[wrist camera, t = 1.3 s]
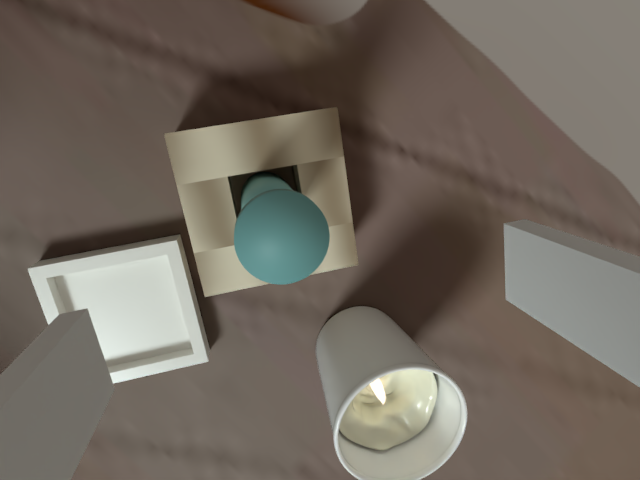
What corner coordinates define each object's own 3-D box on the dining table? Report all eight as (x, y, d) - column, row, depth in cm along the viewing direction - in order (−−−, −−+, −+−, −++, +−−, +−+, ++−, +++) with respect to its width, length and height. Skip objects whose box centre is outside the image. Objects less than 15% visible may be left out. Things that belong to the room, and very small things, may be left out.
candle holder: (322, 288, 38) (357, 356, 27) (417, 307, 41) (487, 376, 29) (295, 382, 40) (317, 482, 29) (388, 394, 43) (442, 491, 31)
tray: (82, 378, 36) (73, 392, 34) (39, 260, 33) (27, 268, 31) (209, 349, 38) (208, 361, 36) (180, 234, 35) (176, 240, 33)
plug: (242, 229, 35) (244, 293, 21) (230, 172, 33) (224, 201, 20) (299, 218, 35) (335, 273, 22) (289, 161, 34) (322, 183, 21)
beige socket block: (209, 275, 36) (204, 297, 31) (174, 133, 33) (163, 133, 28) (343, 247, 38) (358, 264, 33) (323, 109, 34) (337, 106, 30)
